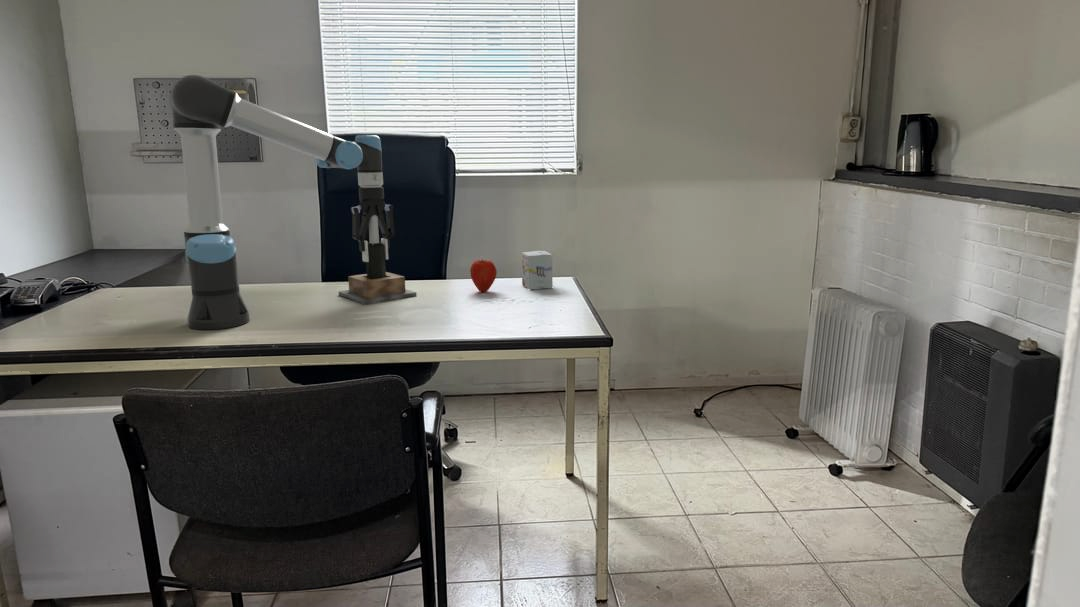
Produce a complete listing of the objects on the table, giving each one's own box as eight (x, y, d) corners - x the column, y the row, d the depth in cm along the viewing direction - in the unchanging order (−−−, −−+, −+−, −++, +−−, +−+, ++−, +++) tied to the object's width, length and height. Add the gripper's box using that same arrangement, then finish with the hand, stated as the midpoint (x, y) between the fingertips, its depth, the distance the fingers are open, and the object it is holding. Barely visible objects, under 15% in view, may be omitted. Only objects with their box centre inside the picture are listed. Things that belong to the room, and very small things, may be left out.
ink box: (521, 285, 234) (521, 251, 232) (545, 283, 237) (545, 250, 234) (528, 290, 226) (528, 254, 224) (553, 288, 229) (553, 253, 226)
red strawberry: (498, 289, 228) (498, 257, 226) (494, 294, 220) (493, 261, 218) (473, 288, 229) (472, 256, 227) (468, 294, 221) (467, 261, 218)
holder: (364, 304, 207) (363, 284, 205) (338, 295, 220) (337, 276, 219) (416, 295, 218) (415, 276, 217) (388, 287, 232) (387, 269, 230)
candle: (387, 283, 221) (382, 205, 215) (382, 286, 216) (377, 206, 210) (371, 282, 221) (367, 205, 216) (366, 286, 216) (361, 206, 211)
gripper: (347, 188, 203) (352, 265, 208) (404, 185, 215) (408, 258, 220) (336, 187, 208) (341, 262, 213) (392, 184, 220) (396, 255, 226)
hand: (375, 260), depth 217 cm, fingers closed on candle, 6 cm apart
